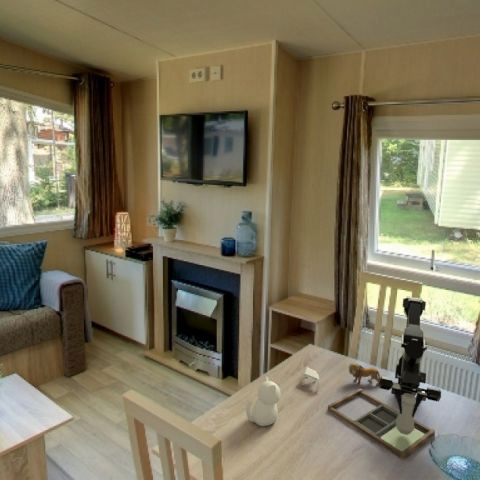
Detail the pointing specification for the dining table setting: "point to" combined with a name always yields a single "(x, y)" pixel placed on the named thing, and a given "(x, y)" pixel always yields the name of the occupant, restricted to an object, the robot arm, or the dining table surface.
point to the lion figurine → (363, 373)
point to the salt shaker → (406, 414)
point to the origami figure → (311, 374)
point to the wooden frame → (402, 455)
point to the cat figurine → (265, 404)
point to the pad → (401, 438)
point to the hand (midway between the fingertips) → (406, 415)
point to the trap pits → (378, 420)
